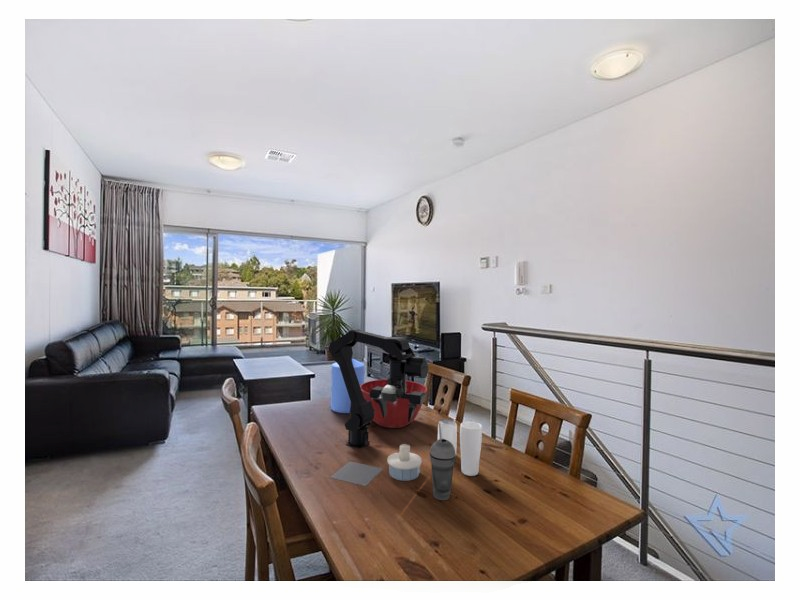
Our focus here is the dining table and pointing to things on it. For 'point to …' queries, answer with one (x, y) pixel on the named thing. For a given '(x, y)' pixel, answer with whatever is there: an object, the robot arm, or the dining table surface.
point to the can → (448, 431)
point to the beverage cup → (442, 467)
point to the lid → (404, 459)
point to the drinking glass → (470, 447)
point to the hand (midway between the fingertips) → (396, 420)
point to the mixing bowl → (392, 404)
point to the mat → (357, 473)
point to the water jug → (343, 387)
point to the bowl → (404, 473)
